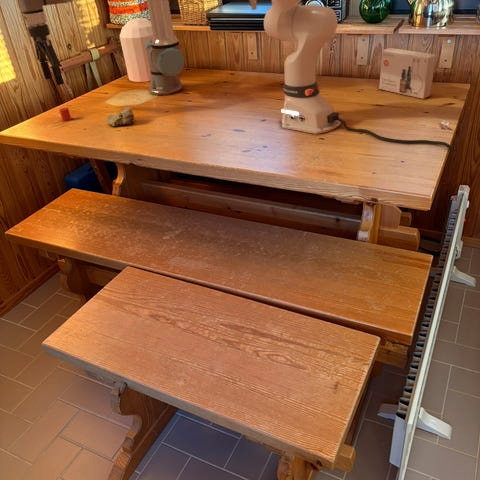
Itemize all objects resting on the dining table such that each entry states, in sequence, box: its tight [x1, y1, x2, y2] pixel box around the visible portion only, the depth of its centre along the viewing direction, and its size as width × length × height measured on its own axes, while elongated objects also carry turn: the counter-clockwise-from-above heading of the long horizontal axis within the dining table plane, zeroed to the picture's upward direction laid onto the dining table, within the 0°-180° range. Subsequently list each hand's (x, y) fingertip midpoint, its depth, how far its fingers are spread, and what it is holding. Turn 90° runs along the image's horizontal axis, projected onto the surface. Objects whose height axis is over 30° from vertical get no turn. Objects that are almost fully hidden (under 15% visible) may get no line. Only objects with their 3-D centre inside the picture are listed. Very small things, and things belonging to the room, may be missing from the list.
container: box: [119, 17, 154, 83], centre depth 235 cm, size 21×21×28 cm
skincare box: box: [378, 47, 437, 100], centre depth 184 cm, size 21×6×16 cm, turn 40°
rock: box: [107, 106, 135, 127], centre depth 186 cm, size 11×6×10 cm
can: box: [58, 107, 72, 122], centre depth 195 cm, size 4×4×5 cm
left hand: (54, 81), depth 187 cm, fingers open, 13 cm apart
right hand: (253, 7), depth 187 cm, fingers open, 8 cm apart
